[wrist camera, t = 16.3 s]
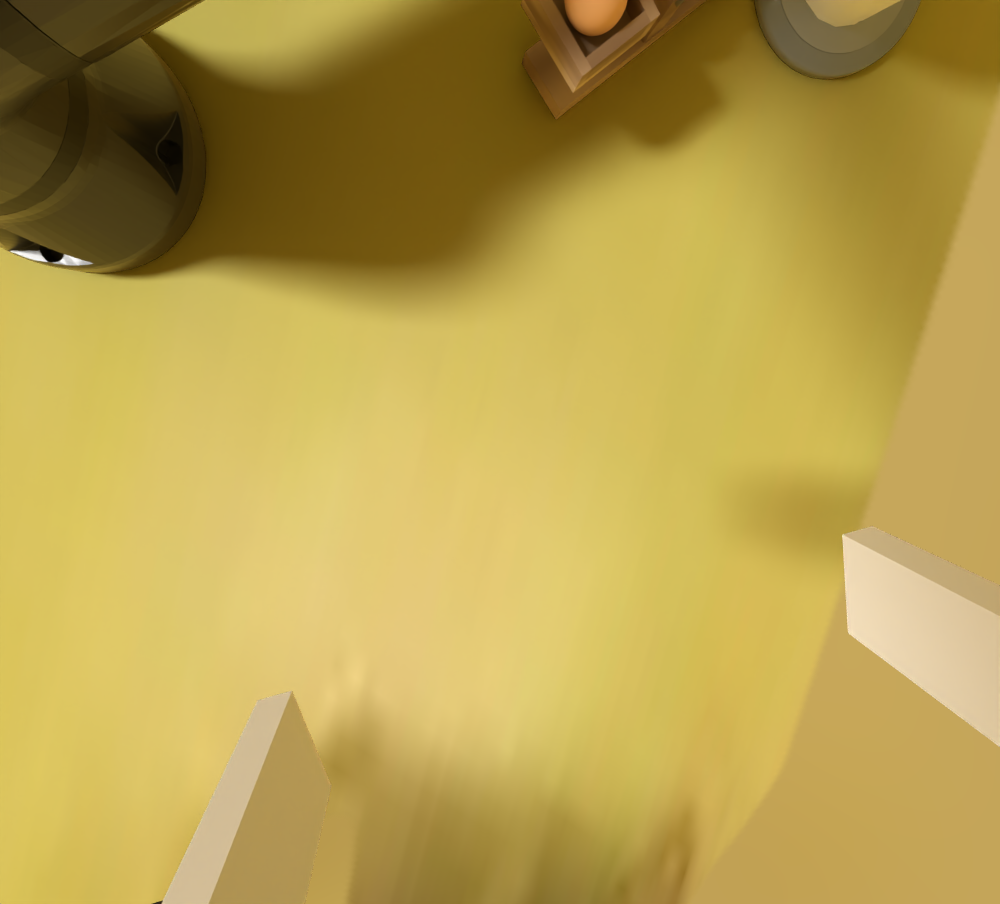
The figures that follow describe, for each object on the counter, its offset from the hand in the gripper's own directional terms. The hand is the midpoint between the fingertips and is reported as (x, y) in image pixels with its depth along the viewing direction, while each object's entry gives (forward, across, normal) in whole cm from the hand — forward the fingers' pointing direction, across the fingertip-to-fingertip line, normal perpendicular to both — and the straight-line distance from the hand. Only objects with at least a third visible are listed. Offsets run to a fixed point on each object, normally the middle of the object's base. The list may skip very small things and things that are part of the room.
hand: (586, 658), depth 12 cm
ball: (+20, +11, +22) cm, 31 cm away
